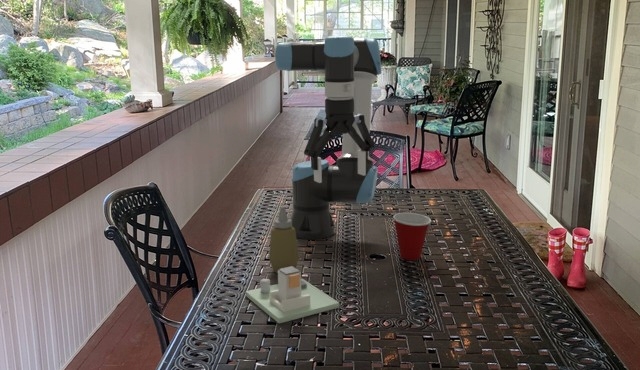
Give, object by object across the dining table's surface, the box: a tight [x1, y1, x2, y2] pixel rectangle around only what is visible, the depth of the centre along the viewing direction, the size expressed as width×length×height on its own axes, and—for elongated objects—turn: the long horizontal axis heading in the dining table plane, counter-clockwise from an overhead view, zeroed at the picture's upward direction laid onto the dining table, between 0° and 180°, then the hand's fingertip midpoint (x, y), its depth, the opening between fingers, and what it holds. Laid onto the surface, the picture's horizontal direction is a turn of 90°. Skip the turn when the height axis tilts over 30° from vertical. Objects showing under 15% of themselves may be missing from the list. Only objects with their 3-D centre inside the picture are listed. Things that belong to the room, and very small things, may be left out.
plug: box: [277, 266, 302, 303], centre depth 150 cm, size 5×4×8 cm
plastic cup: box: [392, 212, 432, 261], centre depth 183 cm, size 11×11×12 cm
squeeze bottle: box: [268, 206, 300, 274], centre depth 173 cm, size 8×8×18 cm
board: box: [245, 277, 340, 324], centre depth 155 cm, size 18×16×4 cm
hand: (340, 178), depth 170 cm, fingers open, 13 cm apart
